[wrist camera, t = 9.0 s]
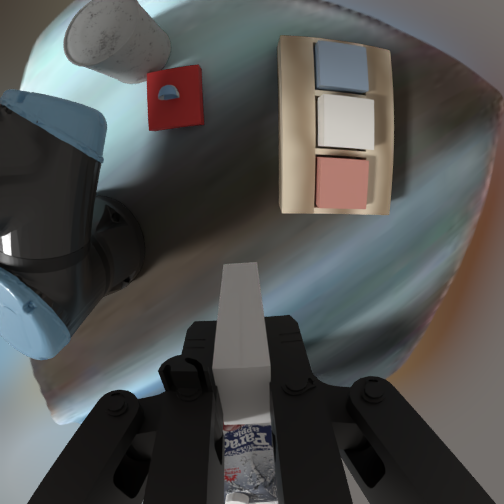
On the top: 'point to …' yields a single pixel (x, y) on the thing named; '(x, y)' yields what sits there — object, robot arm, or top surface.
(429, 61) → the top surface
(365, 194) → the red key
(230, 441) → the juice carton
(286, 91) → the frame
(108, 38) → the grey cylinder
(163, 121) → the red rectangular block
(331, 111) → the white key
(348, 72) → the blue key
